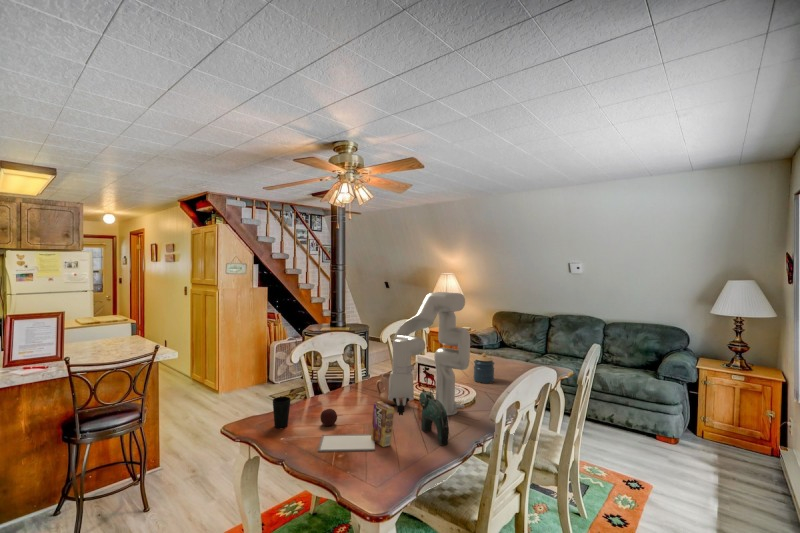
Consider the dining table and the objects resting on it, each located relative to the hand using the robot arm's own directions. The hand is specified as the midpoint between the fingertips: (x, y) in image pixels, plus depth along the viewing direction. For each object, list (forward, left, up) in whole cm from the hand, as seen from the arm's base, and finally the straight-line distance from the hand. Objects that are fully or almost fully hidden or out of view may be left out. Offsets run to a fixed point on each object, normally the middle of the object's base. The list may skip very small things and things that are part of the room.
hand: (400, 414), depth 161 cm
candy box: (+8, 0, -12) cm, 14 cm away
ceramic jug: (+1, -48, -12) cm, 49 cm away
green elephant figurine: (-15, -6, -12) cm, 20 cm away
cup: (+52, -18, -12) cm, 56 cm away
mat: (+21, 0, -12) cm, 24 cm away
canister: (-60, -86, -12) cm, 106 cm away
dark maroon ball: (+31, -19, -12) cm, 38 cm away
